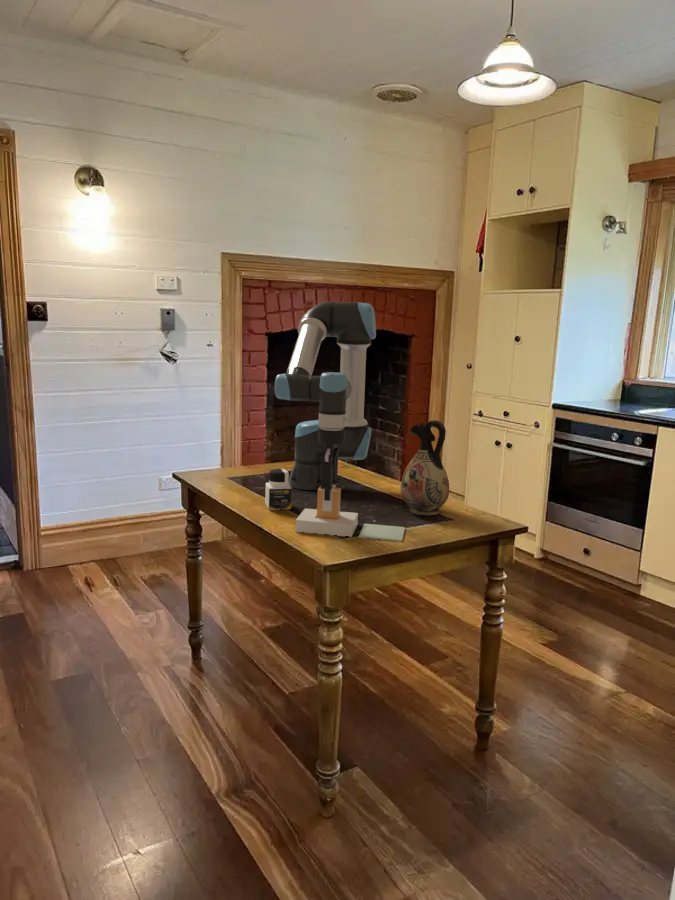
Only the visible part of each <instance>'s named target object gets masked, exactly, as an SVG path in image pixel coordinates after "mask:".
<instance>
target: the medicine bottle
mask: <svg viewBox="0 0 675 900" xmlns="http://www.w3.org/2000/svg"><path fill="white" fill-rule="evenodd" d="M289 473H290V472H289V471H288V470H286V469H285V468H272V469H271V470H270V471H269V472H268V482H265V491H264V493H265V499H264V503H265V505H266V507H267V509H268V511H280V509H282V510H283V509H286V510H291V509H292V495H293V494H292V493H293V487H291V486H290V485H289V476H290V475H289ZM282 510H281V511H282Z"/></svg>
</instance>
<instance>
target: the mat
mask: <svg viewBox="0 0 675 900" xmlns="http://www.w3.org/2000/svg"><path fill="white" fill-rule="evenodd" d="M405 531H406V527H405V526H396V525H384V524H373V523H364V524H363V526H362V529H361V530H360V532H359V535H358V539H366V538H370V539H369V540H377V539H380V540H379V541H389V542H391V541H392V542H398V543H402V542H403V539H404V535H405Z"/></svg>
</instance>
